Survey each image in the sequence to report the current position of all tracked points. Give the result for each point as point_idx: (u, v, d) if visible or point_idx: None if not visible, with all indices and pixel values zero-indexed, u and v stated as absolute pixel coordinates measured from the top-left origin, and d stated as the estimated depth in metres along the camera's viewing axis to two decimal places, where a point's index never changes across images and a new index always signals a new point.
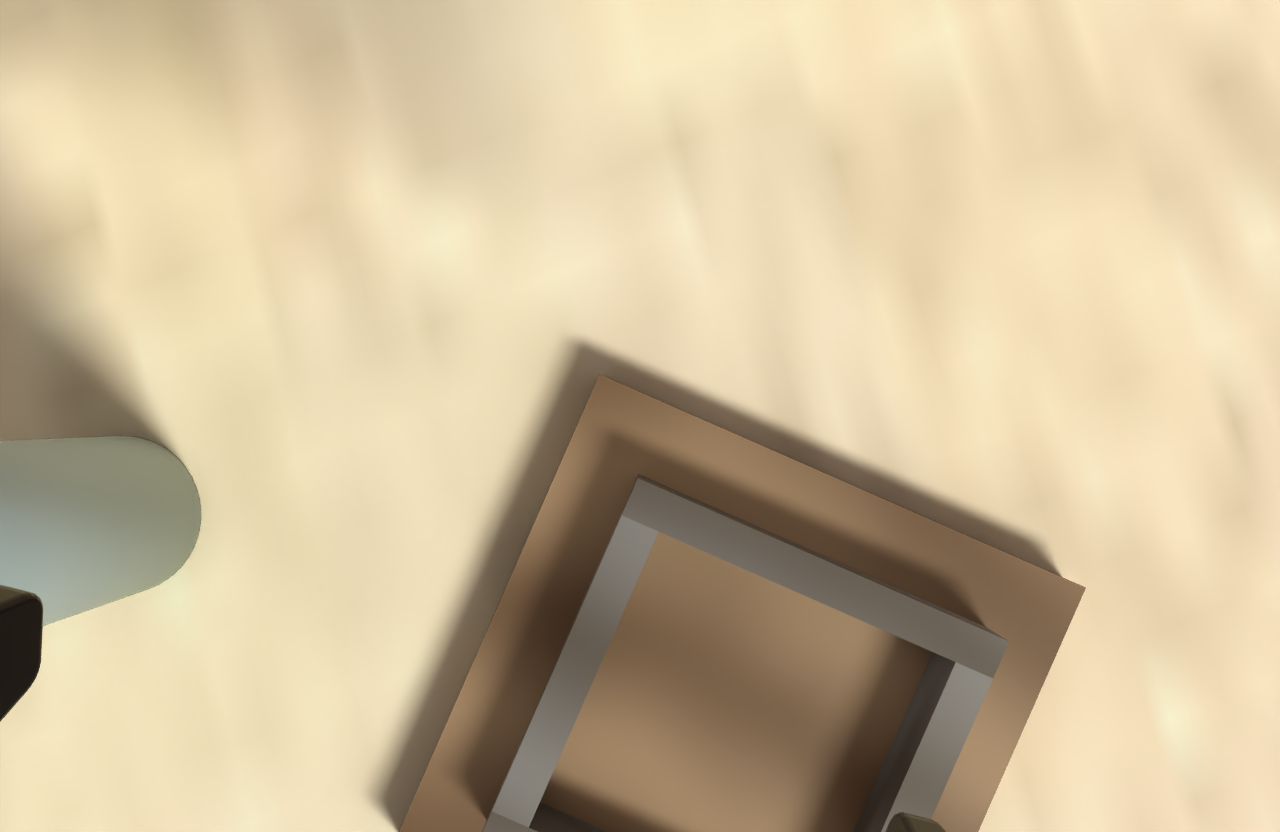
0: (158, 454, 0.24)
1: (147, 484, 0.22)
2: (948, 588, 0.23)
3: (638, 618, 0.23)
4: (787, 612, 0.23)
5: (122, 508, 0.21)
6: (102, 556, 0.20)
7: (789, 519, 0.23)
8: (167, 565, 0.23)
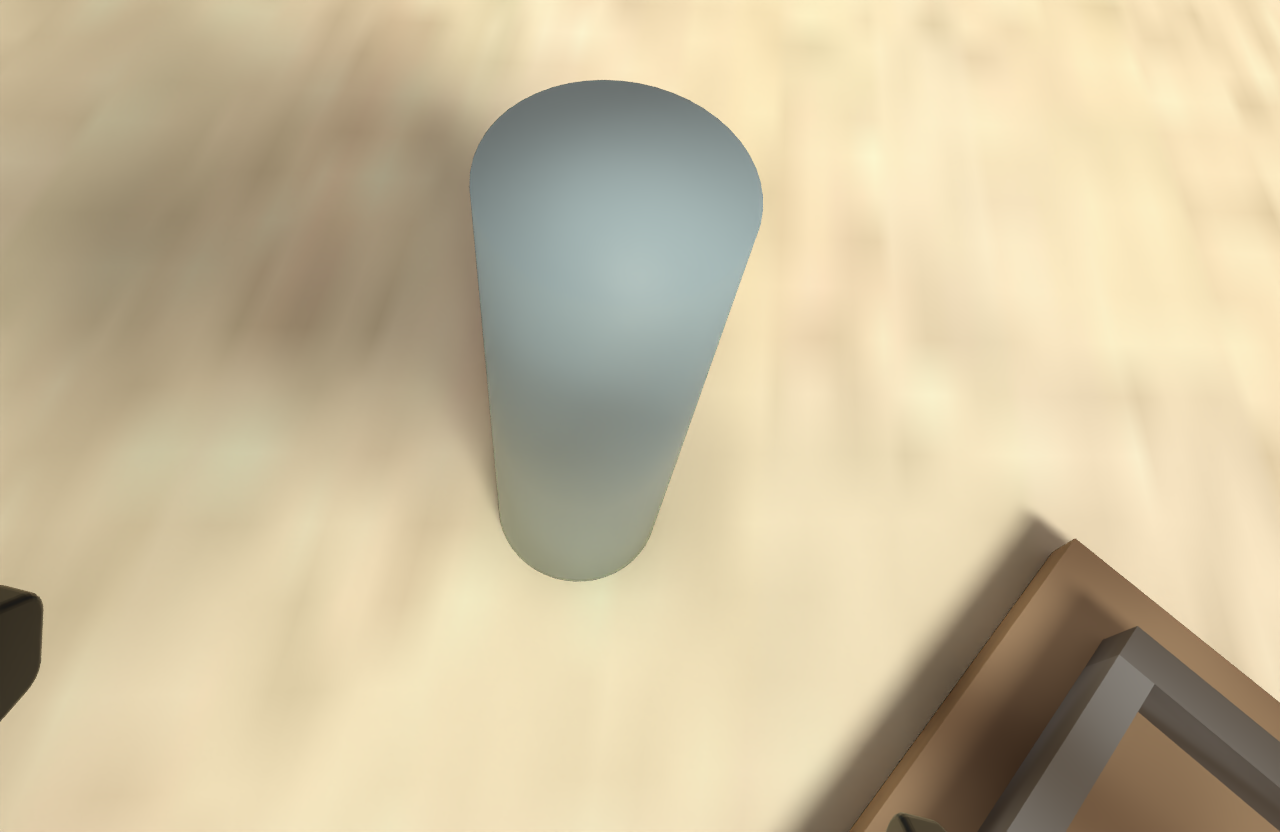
0: None
1: None
2: None
3: None
4: None
5: None
6: (664, 486, 0.20)
7: None
8: (625, 556, 0.23)
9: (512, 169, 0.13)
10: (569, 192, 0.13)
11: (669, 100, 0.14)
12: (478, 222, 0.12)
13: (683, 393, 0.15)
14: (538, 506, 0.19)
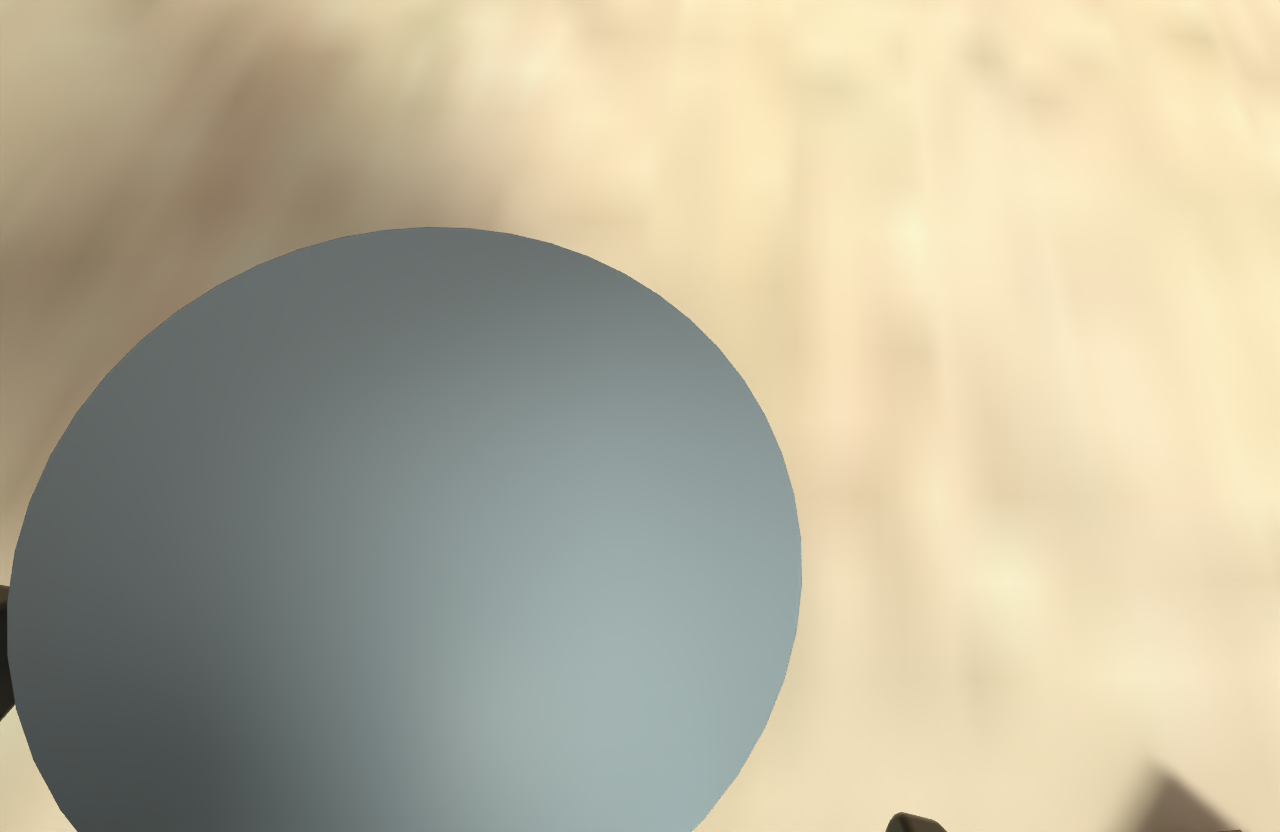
0: None
1: None
2: None
3: None
4: None
5: None
6: None
7: None
8: None
9: (149, 488, 0.05)
10: (294, 551, 0.05)
11: (579, 276, 0.06)
12: (14, 667, 0.04)
13: None
14: None
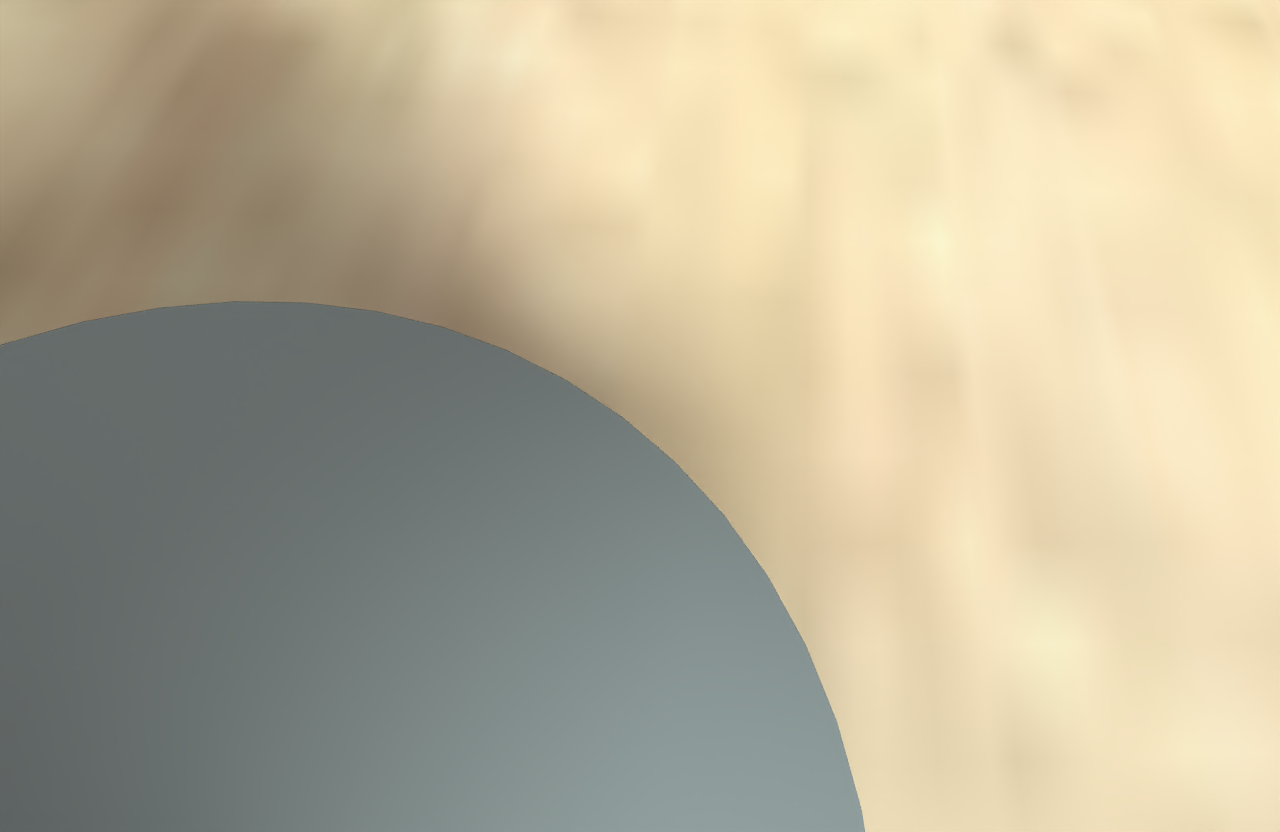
0: None
1: None
2: None
3: None
4: None
5: None
6: None
7: None
8: None
9: None
10: None
11: (488, 384, 0.04)
12: None
13: None
14: None
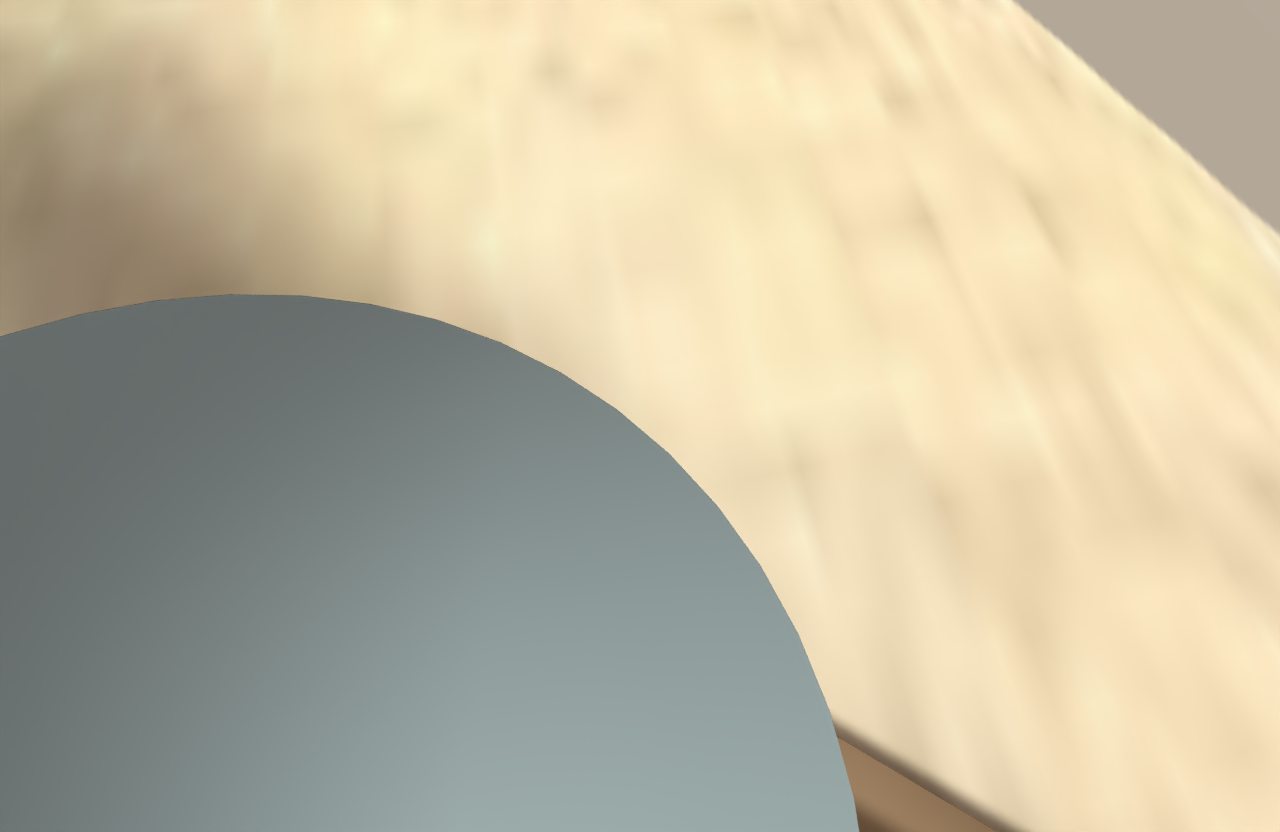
0: None
1: None
2: None
3: None
4: None
5: None
6: None
7: None
8: None
9: None
10: None
11: (484, 377, 0.04)
12: None
13: None
14: None
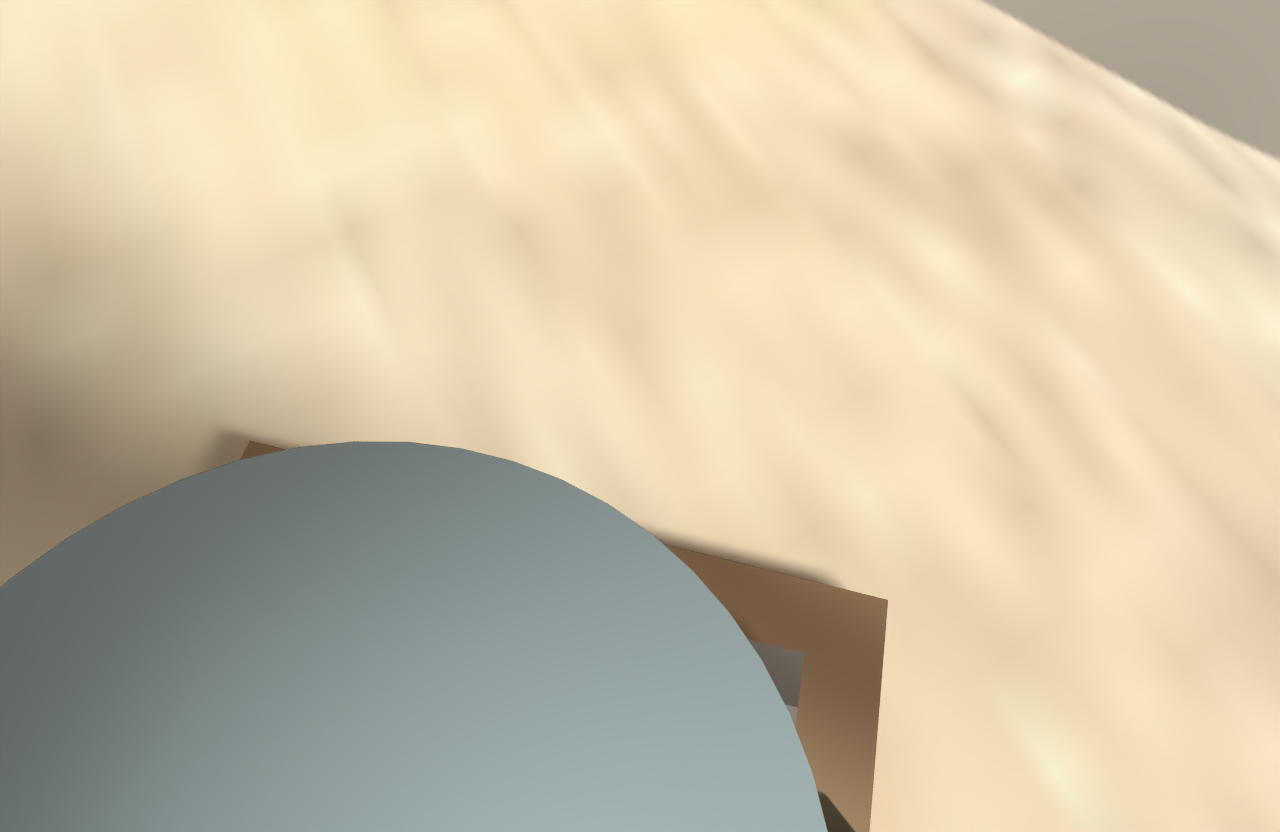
0: None
1: None
2: None
3: None
4: None
5: None
6: None
7: None
8: None
9: None
10: None
11: (550, 507, 0.05)
12: None
13: None
14: None
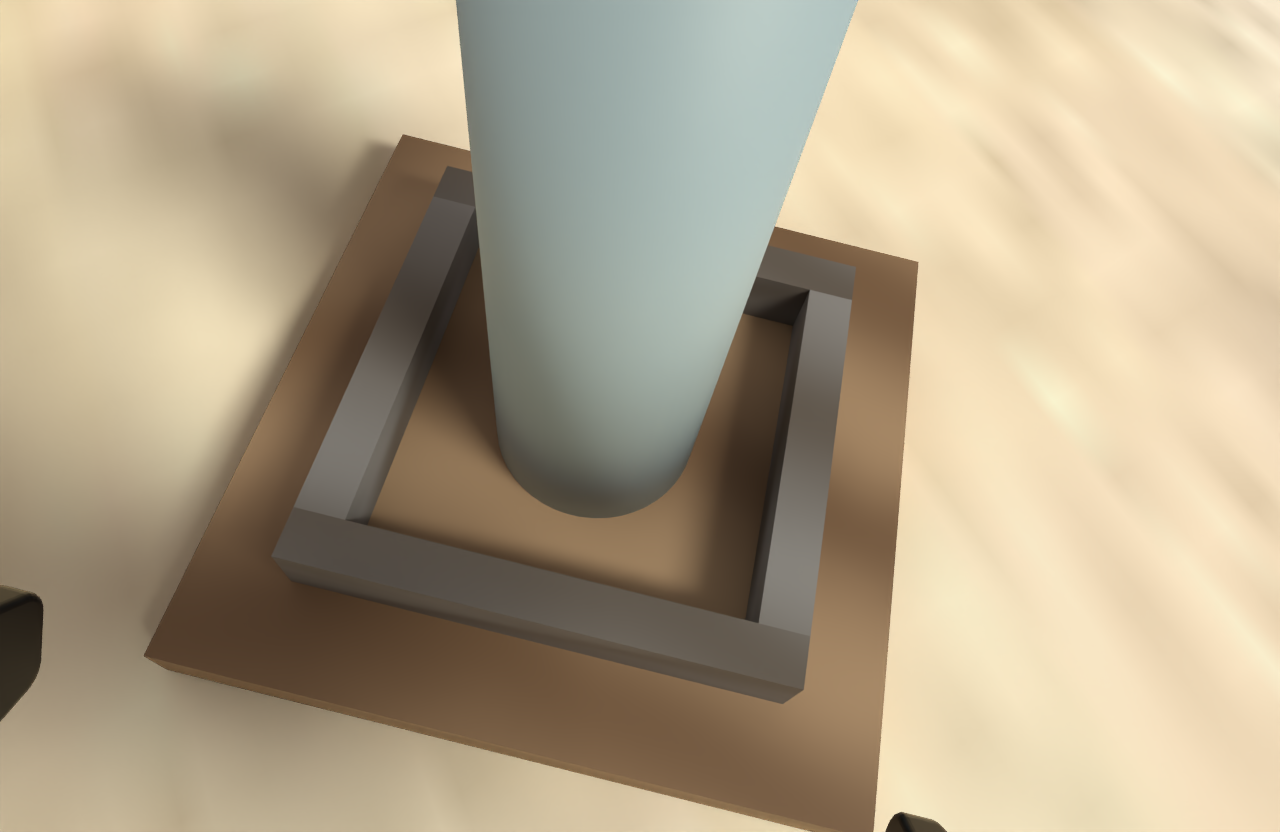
0: None
1: None
2: None
3: (468, 333, 0.20)
4: None
5: None
6: (714, 380, 0.15)
7: None
8: (658, 484, 0.18)
9: None
10: None
11: None
12: None
13: (763, 191, 0.10)
14: (547, 400, 0.14)
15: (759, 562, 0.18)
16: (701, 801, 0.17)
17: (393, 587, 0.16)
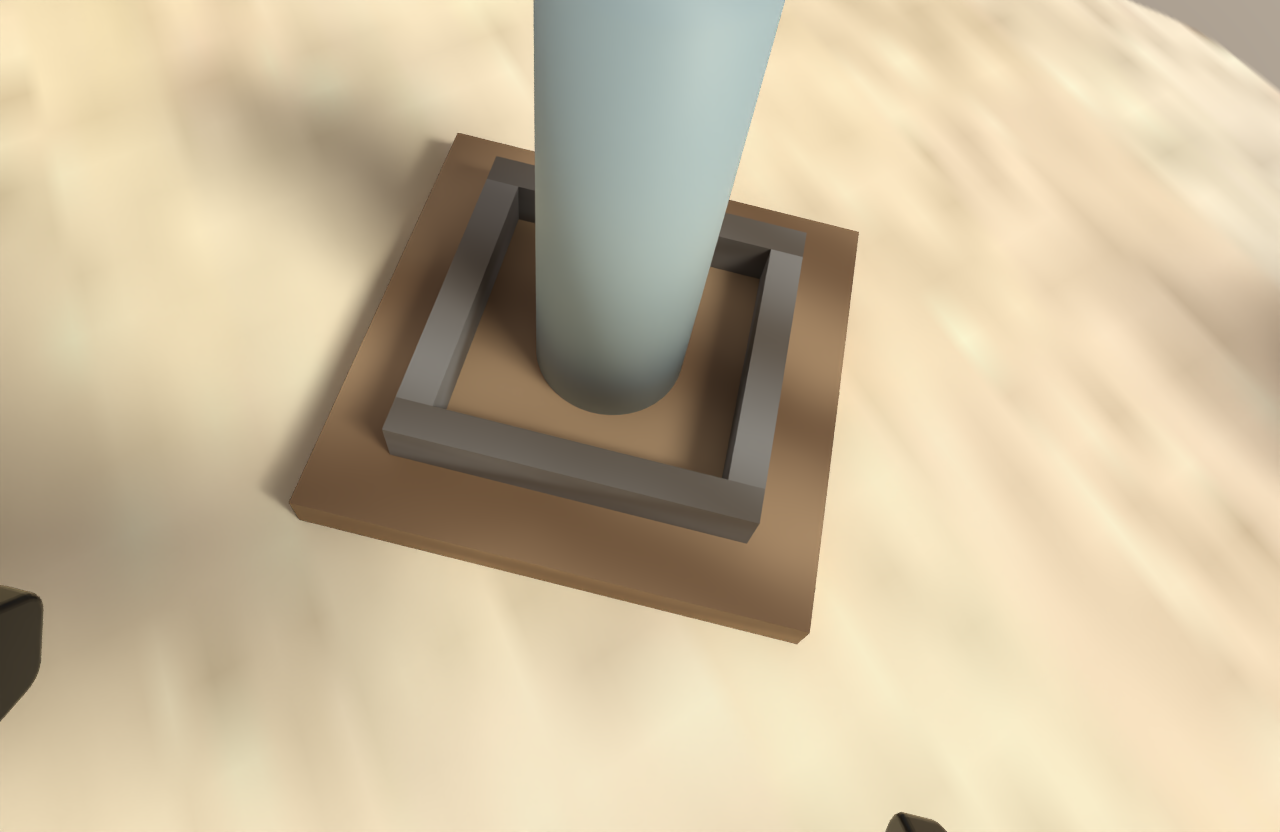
0: None
1: None
2: None
3: (512, 282, 0.27)
4: None
5: None
6: (696, 302, 0.22)
7: None
8: (657, 387, 0.24)
9: None
10: None
11: None
12: None
13: (720, 162, 0.17)
14: (580, 313, 0.21)
15: (730, 444, 0.24)
16: (687, 612, 0.23)
17: (468, 451, 0.22)
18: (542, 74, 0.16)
